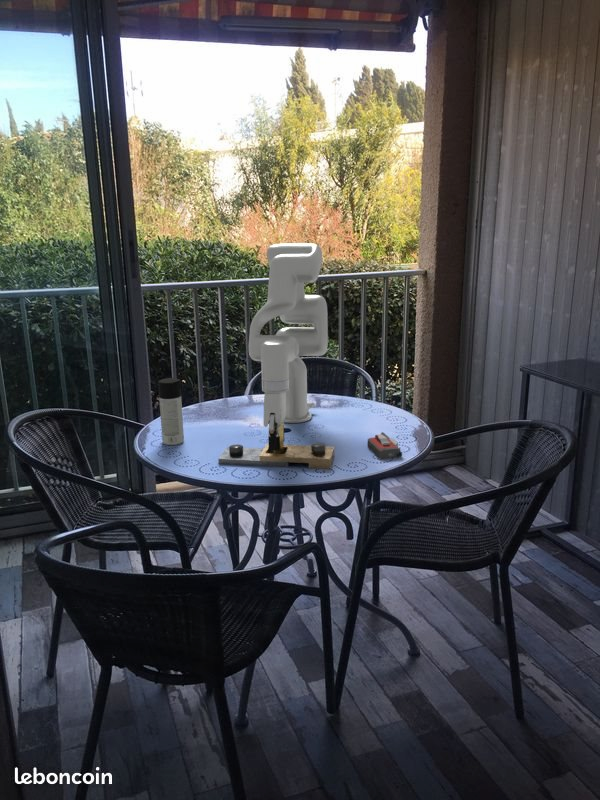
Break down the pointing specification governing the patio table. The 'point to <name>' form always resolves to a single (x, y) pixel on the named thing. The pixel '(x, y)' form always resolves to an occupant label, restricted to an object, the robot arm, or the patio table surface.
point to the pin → (280, 441)
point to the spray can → (171, 411)
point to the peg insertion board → (280, 456)
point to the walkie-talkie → (384, 446)
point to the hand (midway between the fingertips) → (276, 445)
